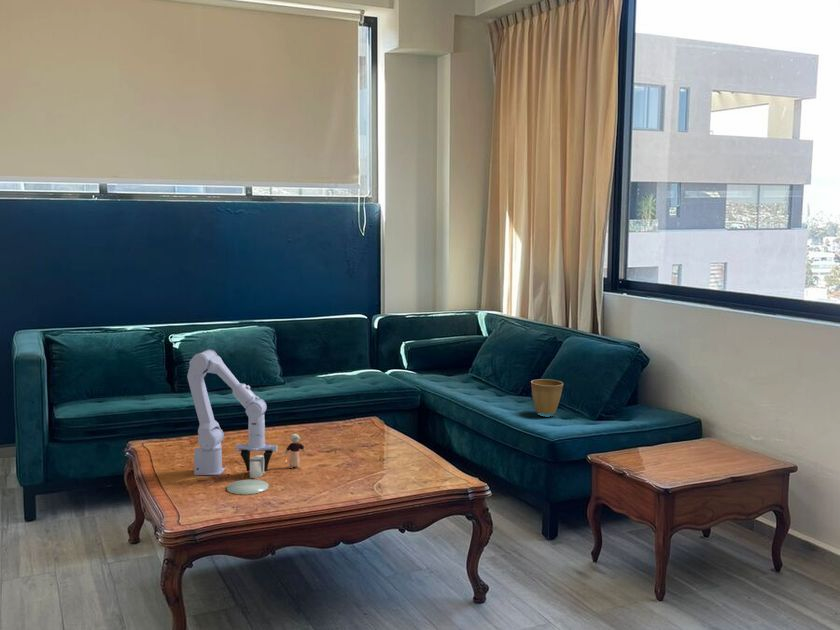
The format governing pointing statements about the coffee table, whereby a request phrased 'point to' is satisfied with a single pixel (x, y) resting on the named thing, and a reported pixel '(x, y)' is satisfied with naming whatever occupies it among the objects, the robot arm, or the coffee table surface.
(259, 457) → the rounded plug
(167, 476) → the coffee table surface
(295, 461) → the grandmother figurine
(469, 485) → the coffee table surface
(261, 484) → the sage plate
